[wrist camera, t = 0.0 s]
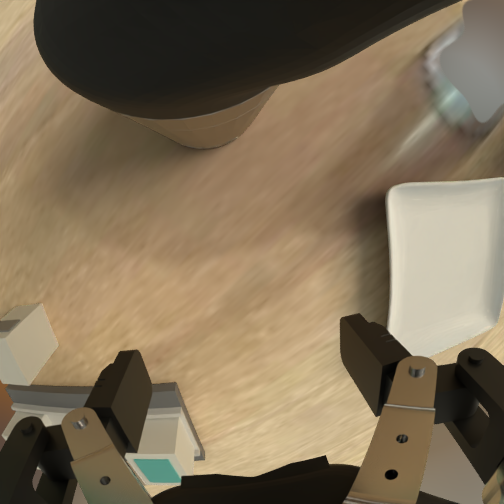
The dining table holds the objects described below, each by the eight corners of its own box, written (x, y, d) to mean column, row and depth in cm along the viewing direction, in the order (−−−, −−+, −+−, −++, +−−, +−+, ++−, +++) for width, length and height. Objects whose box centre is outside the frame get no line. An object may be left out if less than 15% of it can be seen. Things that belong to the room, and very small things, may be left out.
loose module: (15, 305, 27) (-22, 337, 20) (41, 301, 27) (4, 336, 20) (33, 346, 29) (2, 383, 21) (59, 345, 29) (29, 385, 21)
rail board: (9, 383, 30) (-15, 416, 22) (176, 382, 31) (168, 434, 24) (52, 446, 34) (37, 480, 26) (204, 452, 36) (204, 497, 28)
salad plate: (498, 173, 29) (516, 176, 26) (485, 317, 35) (499, 327, 32) (369, 182, 28) (386, 185, 24) (369, 360, 34) (381, 377, 31)
